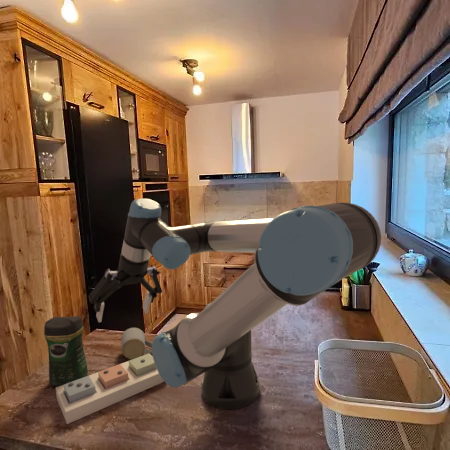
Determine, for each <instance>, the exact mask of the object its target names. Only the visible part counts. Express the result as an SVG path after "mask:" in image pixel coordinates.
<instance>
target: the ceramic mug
mask: <svg viewBox="0 0 450 450" xmlns="http://www.w3.org/2000/svg"><path fill="white" fill-rule="evenodd" d="M120 340H121V341H120V342H121V343H120V344H121V353H122V354H123V356H124V357H125V358H126V359H128V360H132V359H135V358H138V357H140V356H143V354H145V355H146V354H150V355H153V354H152V342H151V341H149V340H146V336H145V333H144V331H143V330H141V328H138V327H130V328H127V329H126V330H124V332H123V333H122V335H121V338H120ZM146 347H149V348H150V349H148V348H146Z"/></svg>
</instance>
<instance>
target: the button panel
mask: <svg viewBox="0 0 450 450" xmlns="http://www.w3.org/2000/svg"><path fill="white" fill-rule="evenodd" d="M149 355H150V356H151V357H153V355H152V354H149ZM129 361H130V360H128V361H125V362H122V363H120V364H121V366H122V367H123V368H124V369H125V370H126V371H127V373H128V380H127V381H124V382H122V383H119V384H117V385H114V386H112V387H110V388H107V389H104V387H103V386H102V384H101V383H100V381H99V376H98V372H99V371H98V372H95V373H92V374H89V375H88V376H89V377H90V379H91V380H92V382H93V384H94V385H95V391H96V393H95V394H92V395H90V396H87V397H85V398H82V399H80V400H77V401H75V402H72V403H70V404H69V403H68V401H67V399H66V397H65V391H64V385H62V386H55V393H56V394H55V395H56V401H57V403H58V405H59V408H60V411H61V412H62V415H63V418H64V420H65V424H66V425H67V424H68V425H69V424H71V423H73V422H75V421H77V420H79V419H82V418H85V417H86V416H89V415H91V414H94V413H95V412H98V411H100V410H102V409H105V408H107V407H109V406H112V405H114V404H116V403H117V404H118V403H119V402H121V401H123V400H126V399H128V398H130V397H132V396H134V395H137V394H139V393H141V392H144V391H146V390H148V389H150V388H153V387H155V386H158V385H160V384H163V383H164V382H165V381H164V380H163V379H162V378H161V376H160V374H159V373H158V370H157V369H154V370H152V371H149V372H147V373H144V374H142V375H139V376H136V375H135V374H134V373H133V372H132V371H131V369H130V368H129Z"/></svg>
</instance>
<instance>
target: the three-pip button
mask: <svg viewBox="0 0 450 450" xmlns="http://www.w3.org/2000/svg"><path fill="white" fill-rule="evenodd" d="M64 391H65V397H66V399H67V401H68V403H69V404H70V403H72V402H75V401H77V400H80V399H82V398H85V397H87V396H90V395H92V394H95V393H96V391H95V385H94V384H93V382H92V380H91V379H90V377H89V375H87V376H86V377H83V378H80V379H78V380H75V381H72V382H70V383H67V384H64Z"/></svg>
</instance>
